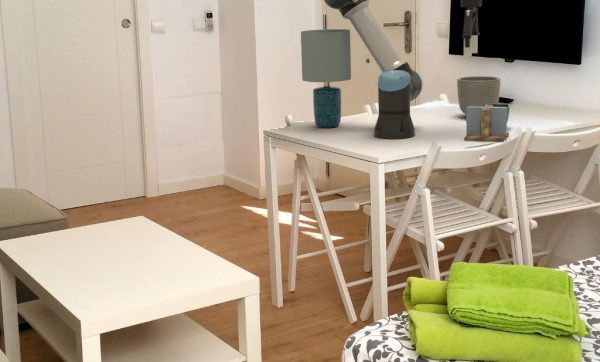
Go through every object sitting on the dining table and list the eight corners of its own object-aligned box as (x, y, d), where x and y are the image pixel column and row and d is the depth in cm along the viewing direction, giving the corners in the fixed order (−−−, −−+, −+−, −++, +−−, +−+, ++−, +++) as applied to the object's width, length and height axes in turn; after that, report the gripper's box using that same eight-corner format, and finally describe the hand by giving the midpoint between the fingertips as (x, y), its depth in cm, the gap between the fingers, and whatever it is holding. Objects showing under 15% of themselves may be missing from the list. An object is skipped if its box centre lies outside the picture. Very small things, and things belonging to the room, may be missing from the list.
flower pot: (509, 131, 334) (509, 107, 332) (485, 130, 336) (485, 107, 334) (508, 126, 342) (509, 103, 340) (485, 126, 344) (485, 103, 342)
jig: (464, 140, 318) (464, 109, 315) (470, 134, 330) (470, 104, 327) (504, 142, 313) (505, 110, 311) (508, 135, 325) (509, 104, 323)
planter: (498, 121, 355) (499, 81, 352) (454, 120, 360) (454, 81, 356) (501, 114, 371) (501, 75, 368) (459, 113, 376) (459, 75, 372)
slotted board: (466, 134, 323) (466, 107, 320) (467, 133, 325) (467, 106, 323) (505, 135, 318) (506, 108, 316) (506, 134, 320) (507, 107, 318)
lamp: (317, 121, 369) (314, 29, 361) (359, 123, 360) (358, 29, 352) (295, 129, 353) (291, 32, 344) (339, 131, 344) (336, 32, 335)
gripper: (476, -4, 311) (475, 58, 316) (486, -6, 334) (486, 51, 338) (454, -3, 313) (454, 58, 318) (466, -6, 336) (466, 51, 341)
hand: (470, 54), depth 328 cm, fingers open, 13 cm apart
